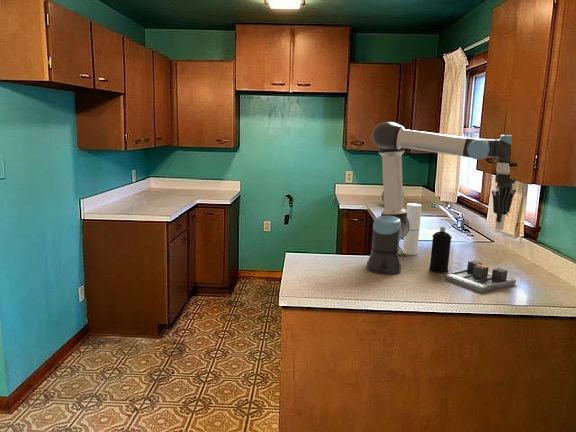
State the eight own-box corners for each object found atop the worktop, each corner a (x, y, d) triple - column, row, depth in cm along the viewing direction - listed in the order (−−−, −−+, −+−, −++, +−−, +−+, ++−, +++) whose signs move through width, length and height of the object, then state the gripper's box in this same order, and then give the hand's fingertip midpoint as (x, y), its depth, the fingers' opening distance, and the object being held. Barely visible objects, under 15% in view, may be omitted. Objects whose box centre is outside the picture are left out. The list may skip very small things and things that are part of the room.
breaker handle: (481, 279, 193) (482, 267, 192) (472, 276, 196) (474, 265, 195) (487, 277, 195) (488, 266, 194) (479, 274, 198) (480, 263, 197)
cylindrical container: (401, 253, 236) (405, 204, 231) (403, 250, 242) (407, 202, 238) (416, 255, 233) (420, 206, 229) (418, 252, 240) (422, 204, 235)
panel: (481, 293, 183) (483, 277, 182) (444, 279, 198) (445, 264, 197) (515, 284, 194) (517, 269, 193) (477, 272, 209) (479, 258, 208)
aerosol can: (438, 274, 205) (443, 229, 201) (425, 268, 212) (429, 225, 208) (452, 272, 209) (456, 228, 205) (438, 266, 216) (442, 224, 212)
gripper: (504, 174, 185) (497, 232, 190) (524, 173, 192) (516, 229, 197) (487, 172, 192) (481, 229, 196) (507, 171, 198) (500, 226, 203)
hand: (499, 229), depth 196 cm, fingers closed
